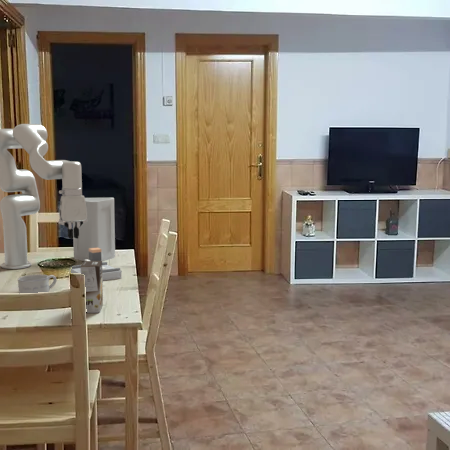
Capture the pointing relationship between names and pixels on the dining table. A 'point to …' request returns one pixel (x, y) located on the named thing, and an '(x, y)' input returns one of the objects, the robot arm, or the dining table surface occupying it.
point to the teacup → (35, 283)
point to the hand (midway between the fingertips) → (73, 237)
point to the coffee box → (93, 285)
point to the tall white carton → (96, 230)
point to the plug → (95, 254)
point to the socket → (106, 274)
